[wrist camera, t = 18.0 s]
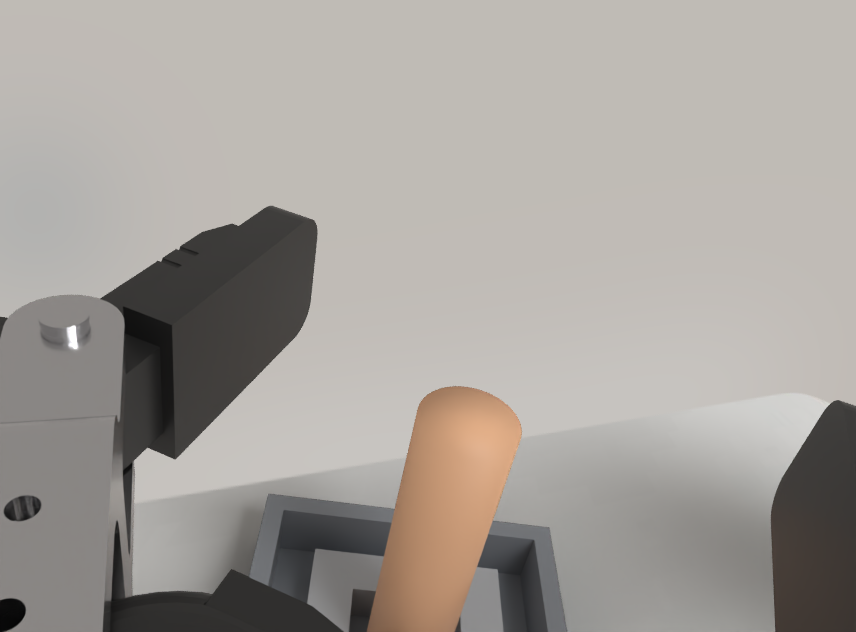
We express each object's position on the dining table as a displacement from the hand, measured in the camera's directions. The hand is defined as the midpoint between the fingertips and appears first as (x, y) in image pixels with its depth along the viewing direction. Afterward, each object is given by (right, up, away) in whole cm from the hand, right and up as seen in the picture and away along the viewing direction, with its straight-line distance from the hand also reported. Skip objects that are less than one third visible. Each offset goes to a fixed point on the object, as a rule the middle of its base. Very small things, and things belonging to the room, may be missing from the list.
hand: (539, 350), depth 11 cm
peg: (-3, -17, +26) cm, 31 cm away
